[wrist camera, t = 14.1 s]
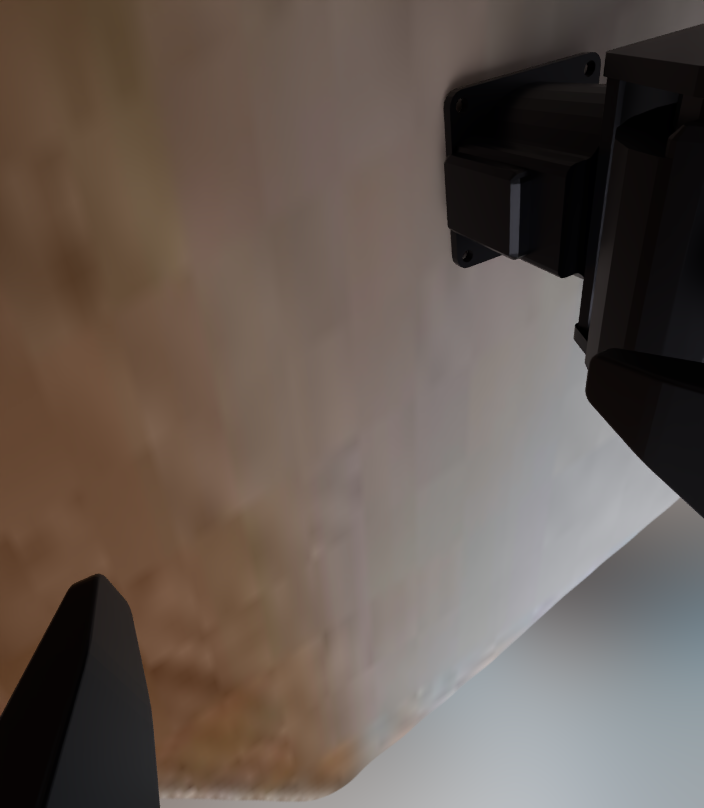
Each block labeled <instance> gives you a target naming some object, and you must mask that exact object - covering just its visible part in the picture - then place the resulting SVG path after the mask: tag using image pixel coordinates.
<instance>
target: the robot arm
mask: <svg viewBox="0 0 704 808" xmlns="http://www.w3.org/2000/svg"><path fill="white" fill-rule="evenodd" d="M586 64H587V71H586V72H585V74H584V69H585V66H586ZM600 67H601V59H600V57H599V55H598V54H597V53H596V52H587V53H580V54H577V55H573V56H569V57H566V58H562V59H559V60H555V61H552V62H548V63H545V64H541V65H538V66H534V67H531V68H527V69H524V70H520V71H517V72H513V73H509V74H506V75H502V76H499V77H495V78H492V79H488V80H485V81H481V82H478V83H474V84H471V85H467V86H464V87H460V88H457V89H454V90H452V91H451V92H450V93H449V94H448V95H447V97H446V99H445V102H444V122H445V139H446V157H447V158H446V160H445V163H444V171H445V187H446V204H447V220H448V227H449V229H451V244H452V258H453V261H454V263H455V264H457V265H458V266H460V267H463V268H468V267H471V266H474V265H476V264H479V263H482V262H484V261H487V260H490V259H492V258H495V257H498V256H501V255H504V256H506V257H508V258H510V259H512V260H516V259H521V260H523V261H525V262H528V263H530V264H532V265H534V266H536V267H538V268H541V269H543V270H545V271H547V272H549V273H551V274H554V275H556V276H558V277H560V278H566V277H568V276H571V275H575V276H577V277H579V278H581V279H584V281H583V289H582V298H581V306H580V315H579V322H578V323H577V324H576V325H575V331H574V340H575V341H576V343H577V344H578V345H579V347H580V348H581V349H582V351H583V352H584V353H585V354H586V357H585V365H586V367H587V369H588V374H587V381H586V388H585V392H586V396H587V399H588V401H589V402H590V403H591V405H592V406H593V407H594V408H595V409H596V410H597V411H598V413H599V414H600V415H601V416H602V417H603V418H604V419H605V420H606V422H607V423H608V424H609V425H610V426H611V427H612V428H613V429H614V431H615V432H616V433H617V434H618V435H619V436H620V437H621V438H622V440H623V441H624V442H625V443H626V444H627V445H628V446H629V447H630V449H631V450H632V451H633V452H634V453H635V454H636V455H637V456H638V457H639V458H640V459H641V460H642V461H643V462H644V463H645V464H646V465H647V466H648V467H649V468H650V469H651V470H652V471H653V472H654V473H655V474H656V475H657V476H658V477H659V478H660V479H662V480H663V481H664V482H665V483H666V484H667V485H668V486H669V487H670V488H671V489H672V490H673V491H674V492H676V493H677V494H678V495H679V496H680V497H681V498H682V499H683V500H684V501H685V502H687V504H689V505H690V506H691V507H692V508H693V509H694V510H695V511H696V512H697V513H698V514H699V515H700V516H702V517H703V518H704V24H700V25H697V26H693V27H690V28H686V29H683V30H679V31H676V32H672V33H669V34H665V35H662V36H658V37H655V38H651V39H648V40H644V41H641V42H637V43H634V44H630V45H627V46H623V47H620V48H616V49H613V50H609V51H607V52H606V57H605V66H604V75H603V76H604V77H607V84H599V76H600ZM459 99H461V100H462V108H461V110H460V111H459V112H457V110H456V104H457V102H458V100H459ZM466 251H468V253H467V256H466V257H465V258H464V259H463V254H464V253H465V252H466ZM0 808H160V803H159V790H158V778H157V766H156V754H155V742H154V730H153V720H152V711H151V705H150V699H149V694H148V689H147V684H146V679H145V675H144V670H143V665H142V660H141V655H140V650H139V646H138V641H137V636H136V631H135V626H134V621H133V617H132V613H131V610H130V607H129V605H128V603H127V601H126V600H125V599H124V598H123V596H122V595H121V594H120V593H119V592H118V591H117V590H116V588H115V587H114V586H113V585H112V584H111V583H110V582H109V580H108V579H107V578H106V577H105V576H104V575H102V574H95V575H92V576H90V577H88V578H85V579H83V580H81V581H79V582H76V583H74V584H73V585H72V586H71V587H70V588H69V589H68V591H67V593H66V595H65V596H64V598H63V600H62V602H61V604H60V606H59V608H58V610H57V611H56V613H55V615H54V617H53V619H52V621H51V623H50V625H49V626H48V628H47V630H46V632H45V634H44V636H43V638H42V640H41V641H40V643H39V645H38V647H37V649H36V651H35V653H34V655H33V656H32V658H31V660H30V662H29V664H28V666H27V668H26V669H25V671H24V673H23V675H22V677H21V679H20V681H19V683H18V684H17V686H16V688H15V690H14V692H13V694H12V696H11V698H10V699H9V701H8V703H7V705H6V707H5V709H4V711H3V713H2V714H1V716H0Z"/></svg>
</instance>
